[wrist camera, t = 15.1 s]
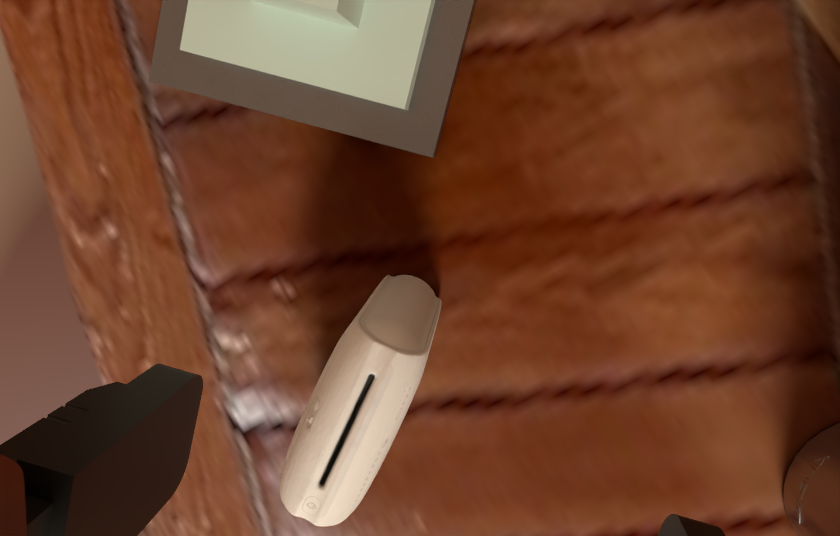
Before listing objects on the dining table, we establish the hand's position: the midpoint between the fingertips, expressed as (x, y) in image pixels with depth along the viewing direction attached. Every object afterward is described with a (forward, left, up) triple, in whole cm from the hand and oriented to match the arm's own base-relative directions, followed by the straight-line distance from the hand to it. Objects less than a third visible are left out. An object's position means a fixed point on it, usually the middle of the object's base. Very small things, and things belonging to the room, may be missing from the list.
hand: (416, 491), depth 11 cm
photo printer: (+3, +8, -28) cm, 30 cm away
